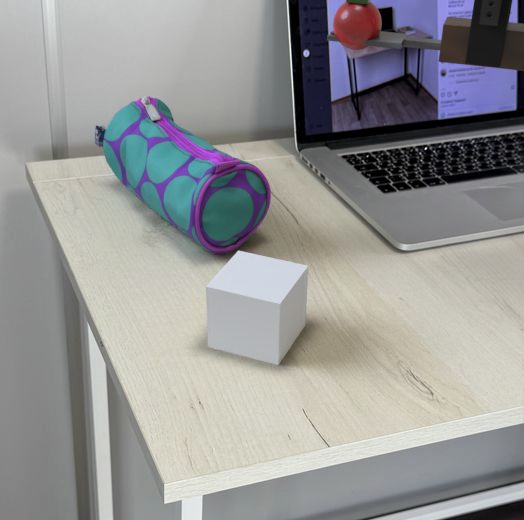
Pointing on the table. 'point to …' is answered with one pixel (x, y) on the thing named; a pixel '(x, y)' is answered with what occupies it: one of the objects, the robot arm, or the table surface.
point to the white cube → (256, 306)
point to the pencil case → (184, 176)
